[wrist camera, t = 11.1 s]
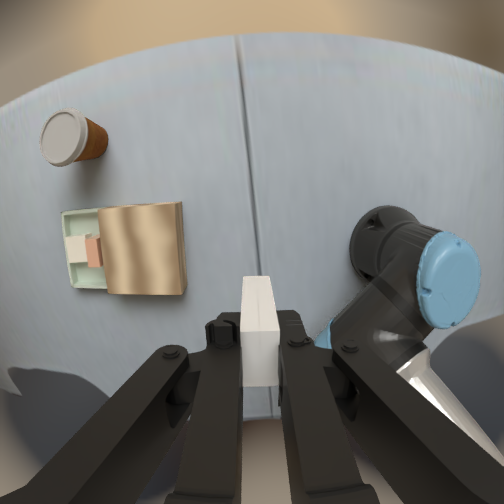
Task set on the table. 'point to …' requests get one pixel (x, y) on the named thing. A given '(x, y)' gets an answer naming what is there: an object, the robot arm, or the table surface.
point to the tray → (81, 224)
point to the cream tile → (77, 247)
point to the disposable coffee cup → (71, 138)
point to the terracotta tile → (94, 251)
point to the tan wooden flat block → (143, 248)
